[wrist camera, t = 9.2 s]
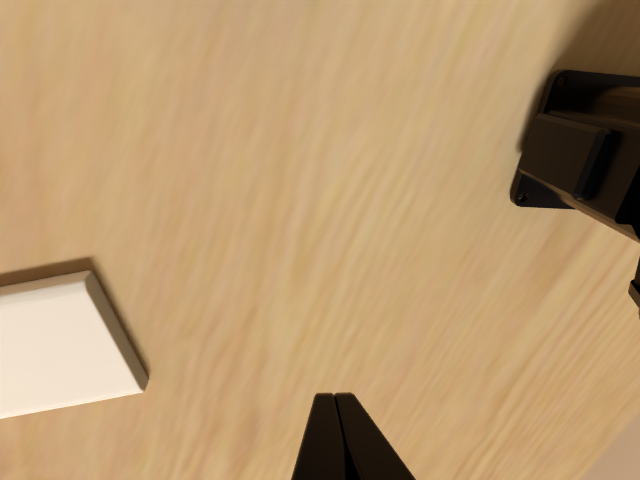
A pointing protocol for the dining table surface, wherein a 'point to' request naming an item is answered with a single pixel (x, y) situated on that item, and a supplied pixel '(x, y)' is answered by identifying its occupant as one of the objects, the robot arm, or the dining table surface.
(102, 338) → the external hard drive
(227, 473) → the dining table surface
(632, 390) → the dining table surface
